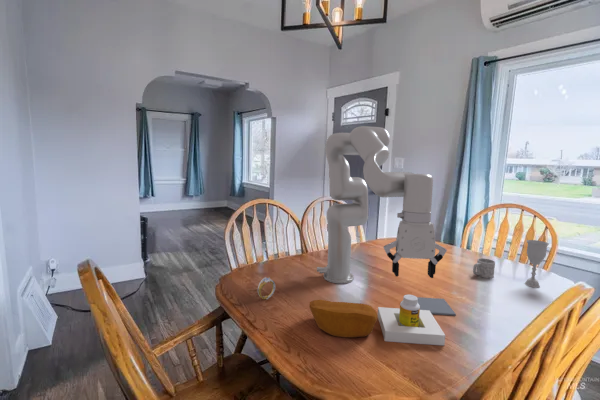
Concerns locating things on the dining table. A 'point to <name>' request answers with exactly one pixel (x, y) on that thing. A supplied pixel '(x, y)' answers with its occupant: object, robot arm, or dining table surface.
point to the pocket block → (410, 328)
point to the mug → (484, 268)
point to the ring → (263, 285)
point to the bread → (344, 318)
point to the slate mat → (435, 306)
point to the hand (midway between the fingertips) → (413, 275)
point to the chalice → (535, 258)
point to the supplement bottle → (409, 311)
